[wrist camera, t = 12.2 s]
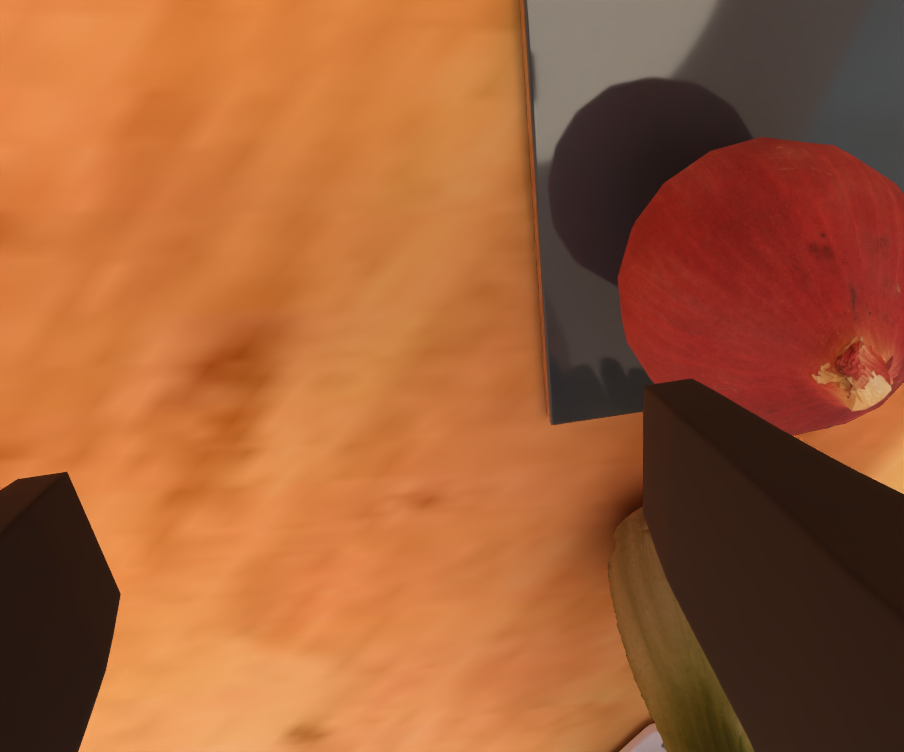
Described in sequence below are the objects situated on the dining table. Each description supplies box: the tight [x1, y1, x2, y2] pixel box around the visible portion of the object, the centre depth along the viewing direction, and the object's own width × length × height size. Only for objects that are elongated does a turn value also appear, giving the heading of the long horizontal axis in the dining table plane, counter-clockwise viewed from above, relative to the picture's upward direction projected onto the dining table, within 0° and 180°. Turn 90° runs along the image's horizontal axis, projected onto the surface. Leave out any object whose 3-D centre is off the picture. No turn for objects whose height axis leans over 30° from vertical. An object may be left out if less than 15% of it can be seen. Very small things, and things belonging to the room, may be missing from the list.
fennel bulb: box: [608, 505, 754, 752], centre depth 20 cm, size 6×5×12 cm
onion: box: [618, 137, 904, 436], centre depth 16 cm, size 6×6×8 cm
